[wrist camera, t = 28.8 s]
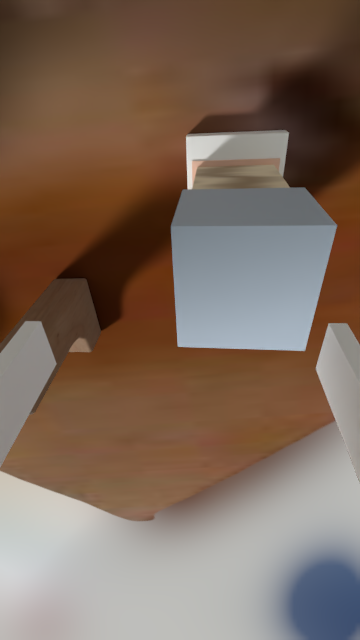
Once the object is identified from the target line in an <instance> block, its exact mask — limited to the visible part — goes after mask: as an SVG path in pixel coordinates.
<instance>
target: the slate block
mask: <svg viewBox="0 0 360 640" xmlns="http://www.w3.org/2000/svg"><path fill="white" fill-rule="evenodd" d="M336 228H337V225H336V224H335V222H334V221H333V220H332V219H331V218H330V217H329V215H328V214H327V213H326V212H325V211H324V210H323V208H322V207H321V206H320V205H319V204H318V203H317V201H316V200H315V199H314V198H313V197H312V195H311V194H310V193H309V192H308V191H307V190H306V188H305V187H302V188H245V189H188V190H182V193H181V197H180V200H179V203H178V206H177V209H176V212H175V215H174V218H173V221H172V224H171V238H172V255H173V273H174V290H175V307H176V324H177V341H178V347H201V348H233V349H264V350H296V351H305V348H306V344H307V340H308V337H309V333H310V329H311V325H312V321H313V317H314V313H315V309H316V305H317V301H318V298H319V294H320V290H321V286H322V282H323V278H324V274H325V270H326V266H327V263H328V259H329V255H330V251H331V247H332V243H333V239H334V235H335V231H336Z"/></svg>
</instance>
